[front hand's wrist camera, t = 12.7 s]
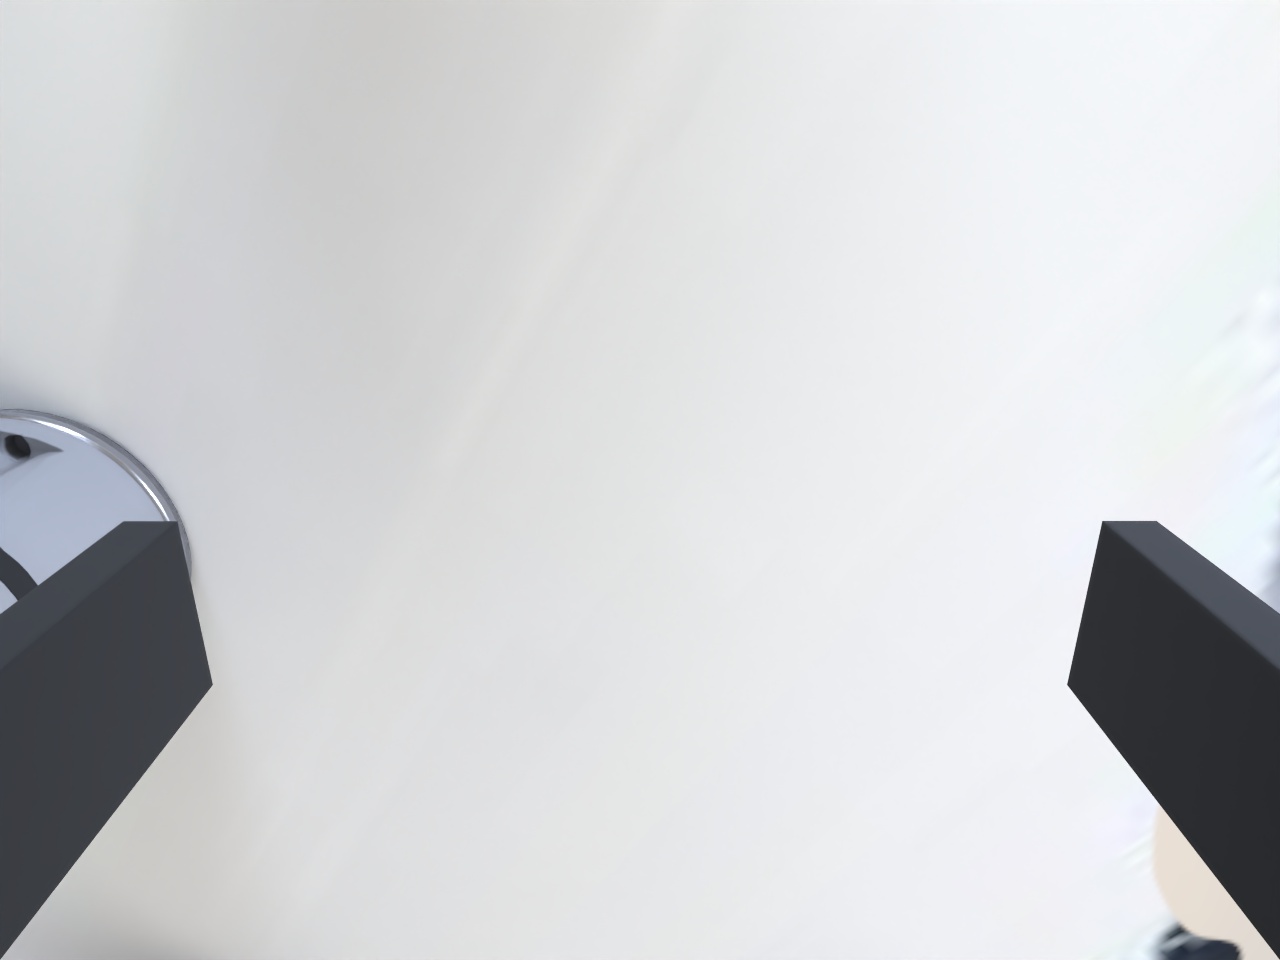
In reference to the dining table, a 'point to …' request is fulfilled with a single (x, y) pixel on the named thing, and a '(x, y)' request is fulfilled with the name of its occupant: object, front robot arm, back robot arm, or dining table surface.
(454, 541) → the dining table surface
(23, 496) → the front robot arm
